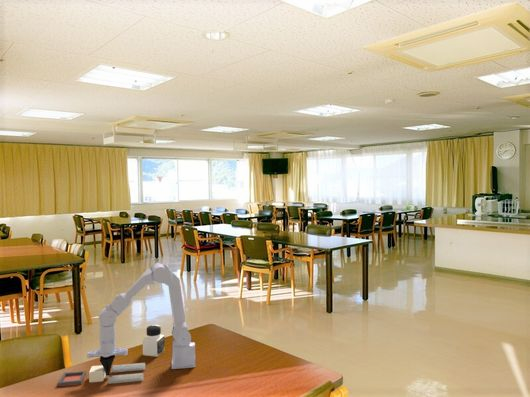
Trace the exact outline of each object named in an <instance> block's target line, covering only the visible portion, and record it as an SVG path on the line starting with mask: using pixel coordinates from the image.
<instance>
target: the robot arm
mask: <svg viewBox="0 0 530 397" xmlns="http://www.w3.org/2000/svg"><path fill="white" fill-rule="evenodd" d="M155 282H156V283H158V284H164V285H166V286H168V293H169V299H170V300H169V301H170V308H171V314H172V330H171V336H172V338H173V341H172V359H171V370H176V369H180V370H181V369H189V368H195V367H196V360H197V357H196V356H197V355H196V342H194V341H193V342H192V335H191V333H190V332H189V328H188V325H187V322H186V321H187V320H186V317H185V310H184V309H185V308H184V301H183V293H182V286H181V281H180V278H179V277H178V276H177V275H176V274H175V273H174V272H173V270H171V269H170V268H169V267H168V266H167V265H165V264H163V263H161V262H155V263H153V264H152V265H151V266H150V267H148V268H147V269H146V270H145V271H144V272H143V273H142V274H141V275H140V276H139V278H138V279H137V280H136V281H135V282H134V283H133V284H132V285H131V286H130V287H129V288H128V290H127V291H125V292H124V293H123V292H122V293H119V294H116V295H115V296H114V299H113V300H112V301H110V303H109V304H107V305H106V306H105V308H103V309H102V310H101V309H100V311H99V315H98V320H99V349H96V350H90V351H88V352H87V354H86V355H87V356H86V358H87V359H91V358H99V362H100V365H103V367H104V370H105V373H106V375H105V377H106V376H111V369H112V366H113V363H114V360H115V357H116V356H128V350H129V349H128V348H120V347H119V348H117V347H116V327H115V323H116V322H117V317H119V316H120V315H121V314H122V313H123V312H124V311H125V310H126V309H127V308H128V307H129V306H130V305H131V304H132V299H133V298H134V297H135V296H136V295H137V294H139V293H140V291H141V290H142V289H144V288H145V287H147V285H154V284H155Z"/></svg>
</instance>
